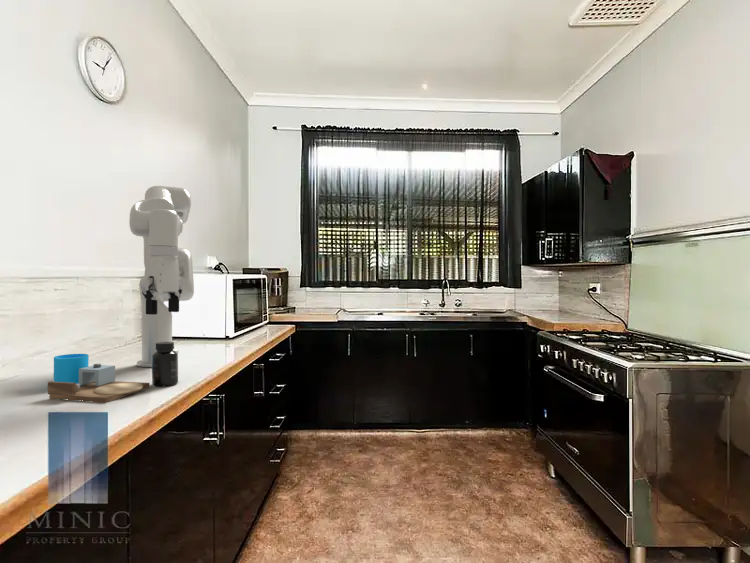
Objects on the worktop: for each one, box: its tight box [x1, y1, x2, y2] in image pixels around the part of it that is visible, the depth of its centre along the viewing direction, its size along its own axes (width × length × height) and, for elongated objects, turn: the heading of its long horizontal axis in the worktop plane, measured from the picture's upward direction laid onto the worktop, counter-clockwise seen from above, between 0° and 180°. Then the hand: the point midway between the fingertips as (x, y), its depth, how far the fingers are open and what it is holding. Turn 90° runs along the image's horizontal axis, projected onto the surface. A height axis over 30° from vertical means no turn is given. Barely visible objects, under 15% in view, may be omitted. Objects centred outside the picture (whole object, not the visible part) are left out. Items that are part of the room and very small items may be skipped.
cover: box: [79, 363, 116, 386], centre depth 124 cm, size 6×6×5 cm
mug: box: [53, 353, 89, 384], centre depth 129 cm, size 12×8×8 cm
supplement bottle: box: [151, 341, 179, 388], centre depth 129 cm, size 7×7×12 cm
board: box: [47, 380, 151, 404], centre depth 119 cm, size 16×19×4 cm
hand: (163, 313), depth 129 cm, fingers open, 9 cm apart
